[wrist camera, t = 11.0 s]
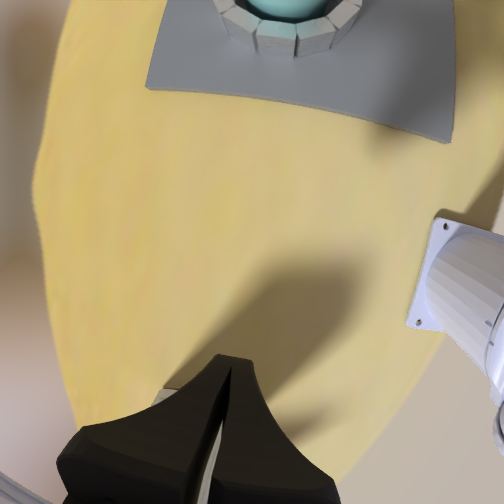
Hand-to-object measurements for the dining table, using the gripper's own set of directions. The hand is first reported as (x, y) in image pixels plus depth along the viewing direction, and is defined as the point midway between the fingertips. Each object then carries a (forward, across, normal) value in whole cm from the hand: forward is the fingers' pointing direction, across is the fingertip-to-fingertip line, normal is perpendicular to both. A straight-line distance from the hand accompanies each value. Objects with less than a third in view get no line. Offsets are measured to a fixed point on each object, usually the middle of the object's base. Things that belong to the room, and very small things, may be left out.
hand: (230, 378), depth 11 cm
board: (+10, -1, -19) cm, 22 cm away
